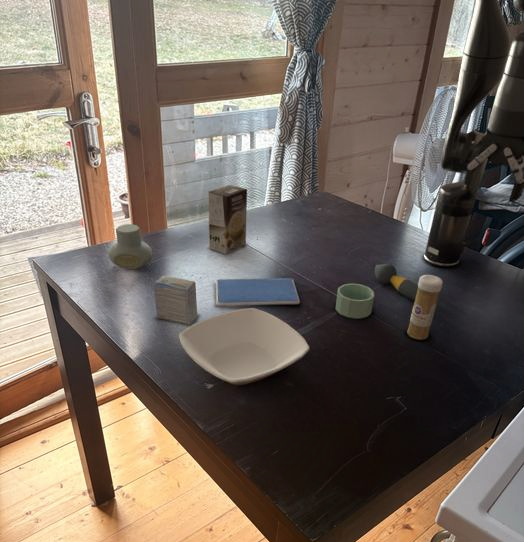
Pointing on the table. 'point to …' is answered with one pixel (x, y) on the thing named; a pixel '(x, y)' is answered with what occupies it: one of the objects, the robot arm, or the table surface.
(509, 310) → the table surface
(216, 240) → the coffee box
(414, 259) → the table surface
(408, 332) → the sprinkles bottle
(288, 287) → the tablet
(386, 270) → the paintbrush
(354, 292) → the bracelet
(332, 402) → the table surface
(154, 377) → the table surface
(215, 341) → the bowl
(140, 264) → the air freshener
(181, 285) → the medicine box
